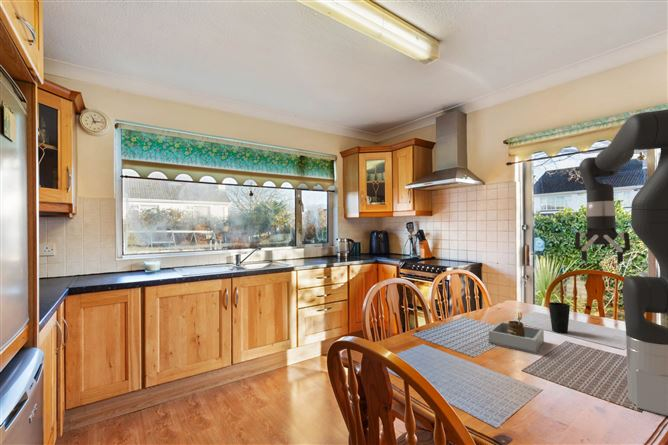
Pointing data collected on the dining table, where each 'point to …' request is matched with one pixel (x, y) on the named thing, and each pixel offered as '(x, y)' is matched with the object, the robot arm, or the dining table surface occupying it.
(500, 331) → the bin
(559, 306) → the cup
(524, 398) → the dining table surface
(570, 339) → the dining table surface
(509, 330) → the utensil holder
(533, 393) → the dining table surface
